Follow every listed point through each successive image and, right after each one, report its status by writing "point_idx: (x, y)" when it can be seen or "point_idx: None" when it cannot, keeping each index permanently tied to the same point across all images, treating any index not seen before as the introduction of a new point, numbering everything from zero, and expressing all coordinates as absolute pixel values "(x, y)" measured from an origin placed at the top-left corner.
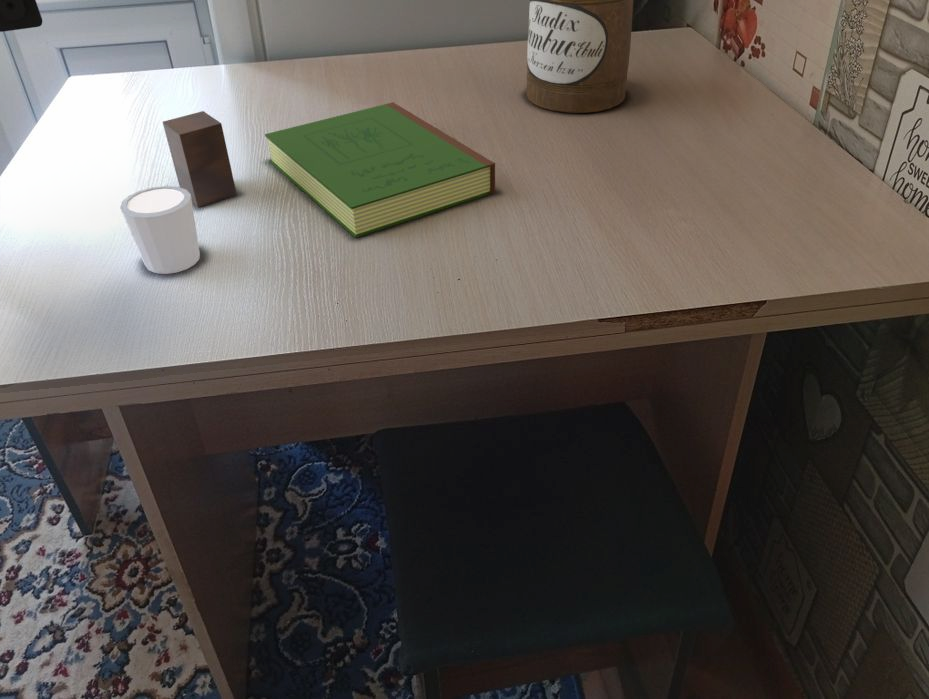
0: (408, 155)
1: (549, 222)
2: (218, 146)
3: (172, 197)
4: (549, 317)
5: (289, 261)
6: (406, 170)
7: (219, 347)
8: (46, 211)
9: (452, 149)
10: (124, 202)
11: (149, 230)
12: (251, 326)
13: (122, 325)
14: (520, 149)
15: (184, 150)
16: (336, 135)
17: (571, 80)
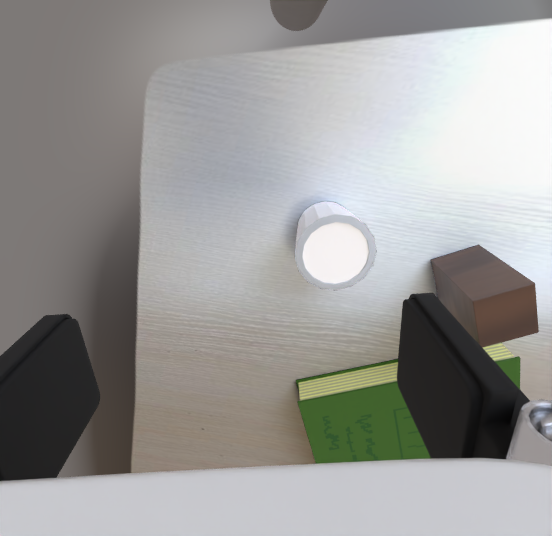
0: (381, 460)
1: None
2: (465, 324)
3: (337, 271)
4: (138, 461)
5: (277, 326)
6: (350, 453)
7: (156, 258)
8: (529, 77)
9: None
10: (347, 219)
11: (297, 236)
12: (180, 285)
13: (216, 177)
14: None
15: (462, 291)
16: None
17: None
